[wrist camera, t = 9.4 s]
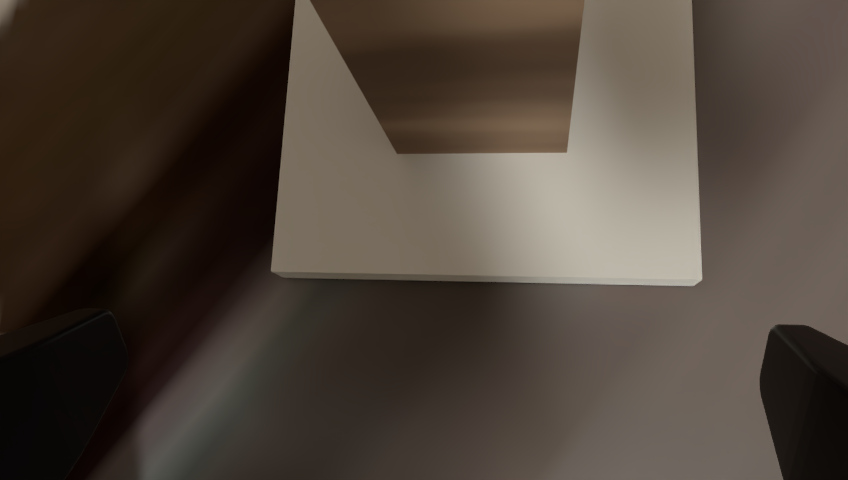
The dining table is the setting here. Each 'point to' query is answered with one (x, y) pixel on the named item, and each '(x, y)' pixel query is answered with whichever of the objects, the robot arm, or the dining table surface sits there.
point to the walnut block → (462, 70)
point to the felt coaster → (502, 172)
